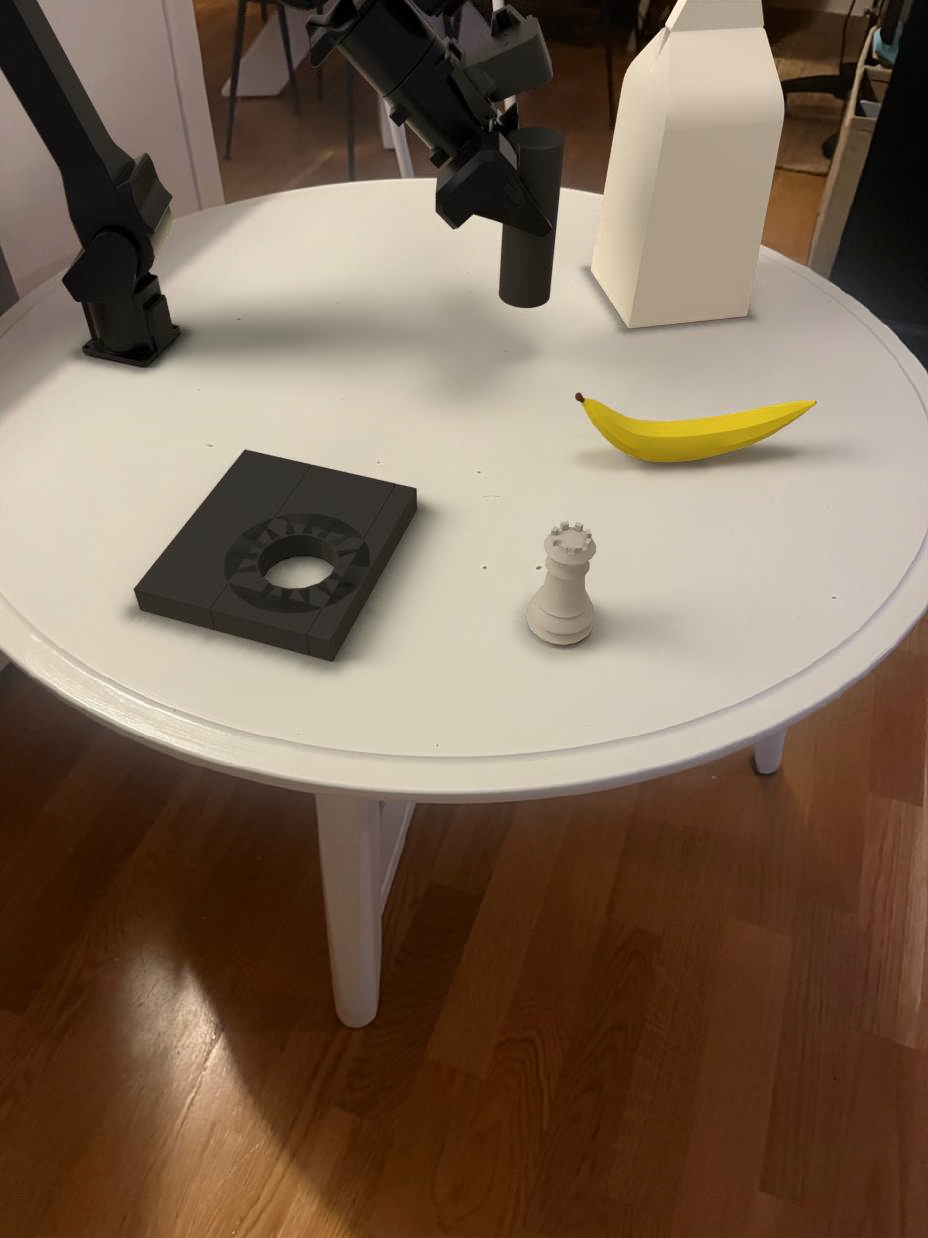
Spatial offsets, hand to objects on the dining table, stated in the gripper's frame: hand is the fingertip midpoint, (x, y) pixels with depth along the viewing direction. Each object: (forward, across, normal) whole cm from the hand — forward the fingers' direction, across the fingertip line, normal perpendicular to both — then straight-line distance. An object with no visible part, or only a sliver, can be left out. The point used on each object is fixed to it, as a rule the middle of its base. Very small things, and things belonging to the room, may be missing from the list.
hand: (546, 219), depth 79 cm
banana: (+17, -14, +1) cm, 22 cm away
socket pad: (-4, -27, +22) cm, 35 cm away
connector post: (+4, 0, +6) cm, 7 cm away
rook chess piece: (+10, -33, +8) cm, 35 cm away
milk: (+18, +12, 0) cm, 22 cm away
